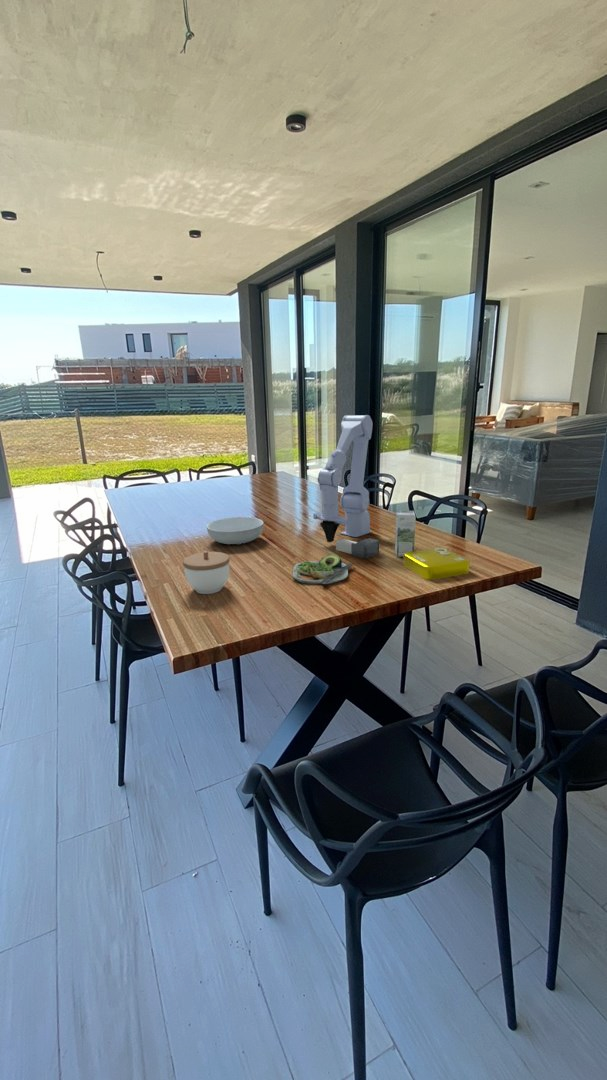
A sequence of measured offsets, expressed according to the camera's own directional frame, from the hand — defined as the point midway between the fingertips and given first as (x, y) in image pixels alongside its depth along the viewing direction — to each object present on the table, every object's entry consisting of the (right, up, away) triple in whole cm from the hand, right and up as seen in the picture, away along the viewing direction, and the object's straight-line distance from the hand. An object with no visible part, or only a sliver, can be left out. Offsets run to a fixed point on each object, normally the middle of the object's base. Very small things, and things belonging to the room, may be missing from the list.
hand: (330, 541), depth 174 cm
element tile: (+30, -9, -26) cm, 41 cm away
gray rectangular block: (+7, -4, -8) cm, 11 cm away
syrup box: (+24, -5, -12) cm, 27 cm away
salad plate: (-4, -10, -27) cm, 29 cm away
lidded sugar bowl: (-36, -13, -37) cm, 53 cm away
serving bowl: (-35, 0, +9) cm, 36 cm away
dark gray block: (+11, -4, -11) cm, 16 cm away
